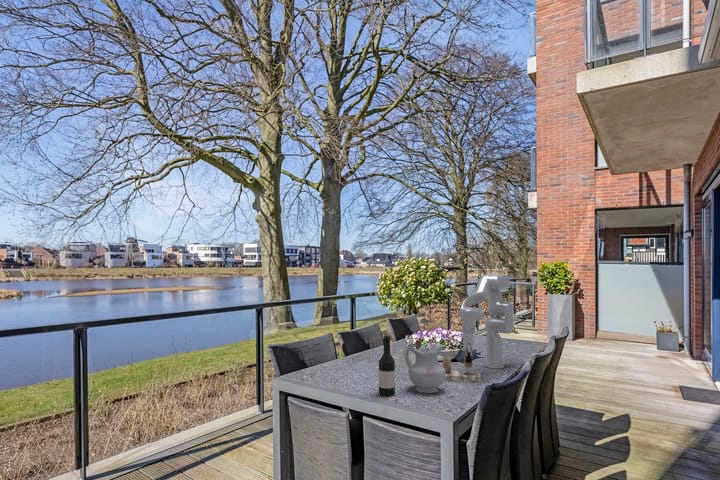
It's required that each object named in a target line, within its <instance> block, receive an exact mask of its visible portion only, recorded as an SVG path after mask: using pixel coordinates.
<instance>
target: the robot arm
mask: <svg viewBox="0 0 720 480" xmlns="http://www.w3.org/2000/svg"><path fill="white" fill-rule="evenodd" d="M510 282H511V279H510V277H509V275H507V274H505V273H486V274H484V275H481V276H479V279H478V282H477V283H476V287H475V290H474V292H473V293H471V294H470V295H469V296H467V297H466V298H465V299H464V300H463V302H462V304H461V306H460V308H459V318H461V333H463V336H462V337H463V338H462V339H463V341H462V342H463V344H462V345H463V346H462V349H463V350H464V351H465V350H466V363H472V364H473V355H472V356H471V351H472V352H473V348H474V334H476V322H479V321H482V320H483V319H484V318H485V312H484V310H483V309H482V308H479V307H472V306H473V305H476V304H479V303H482V302H485V301H486V300H488V301H487V302H488V303H487V311H488V313H489V315H491V316H492V317H487V318H486V319H485V321H484V329H485V333H486V335H485V336H486V362H485V363H484V364H483V365H484V367H485V368H489V369H504V368H505V365H511V362H510V361H507V360H504V359H503V341H502V337H501V335H500V334H511V333H512V332H513V330H514V306H513V303H512V302H510V301H508V300H507V301H505V300H504V301H503V294H502V291H501V290H502V289H506V288H508V287H509V285H510ZM494 316H497V317H494ZM500 316H501V317H500ZM471 348H472V349H471ZM467 349H468V350H467ZM464 351H463V352H464Z"/></svg>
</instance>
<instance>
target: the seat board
mask: <svg viewBox="0 0 720 480" xmlns="http://www.w3.org/2000/svg"><path fill="white" fill-rule="evenodd" d="M451 361H452V359H451V356H443V357H442V366H443V368H444V369H445V379H444V382H461V383H462V382H463V383H481V382H482V380H481V379H482V378H481V374H480V372H479V371H470V370H468V371H467V370H452V368H451V367H452V366H451V365H452V362H451Z"/></svg>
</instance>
